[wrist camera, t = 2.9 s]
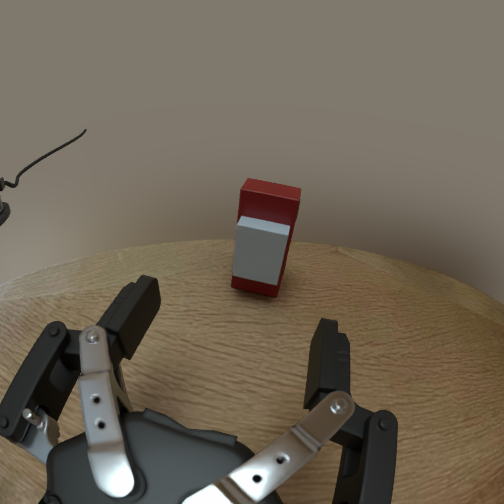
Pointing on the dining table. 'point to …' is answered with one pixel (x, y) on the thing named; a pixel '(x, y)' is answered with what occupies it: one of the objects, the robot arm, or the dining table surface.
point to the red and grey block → (263, 235)
